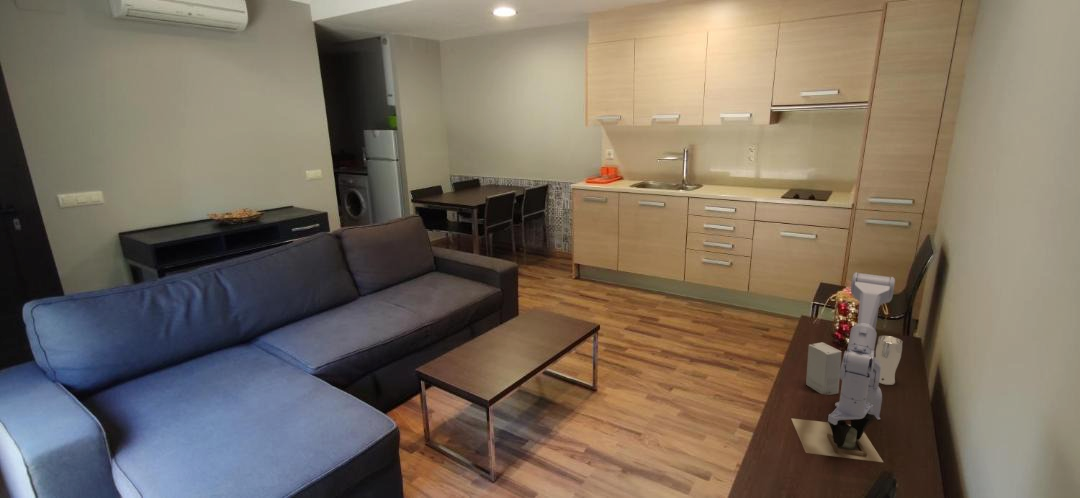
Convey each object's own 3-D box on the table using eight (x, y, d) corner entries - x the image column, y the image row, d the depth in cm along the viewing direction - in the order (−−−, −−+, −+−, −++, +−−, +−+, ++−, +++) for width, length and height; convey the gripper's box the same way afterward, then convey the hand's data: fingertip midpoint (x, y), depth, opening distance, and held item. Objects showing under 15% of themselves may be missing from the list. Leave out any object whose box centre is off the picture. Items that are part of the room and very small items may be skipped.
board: (859, 429, 139) (860, 422, 139) (883, 466, 124) (884, 458, 124) (790, 421, 144) (791, 415, 143) (805, 456, 129) (806, 449, 128)
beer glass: (874, 383, 163) (880, 342, 160) (869, 374, 170) (875, 334, 166) (899, 387, 161) (906, 345, 157) (893, 377, 167) (900, 336, 163)
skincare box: (838, 394, 158) (844, 351, 154) (822, 396, 156) (828, 354, 153) (818, 381, 166) (823, 341, 162) (803, 383, 164) (808, 343, 161)
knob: (845, 440, 133) (848, 423, 132) (858, 449, 129) (861, 432, 128) (833, 442, 132) (835, 425, 131) (845, 452, 128) (848, 434, 127)
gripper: (857, 381, 133) (851, 425, 136) (819, 393, 128) (814, 439, 131) (883, 394, 127) (876, 439, 130) (845, 407, 121) (838, 454, 125)
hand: (846, 440), depth 130 cm, fingers open, 6 cm apart
